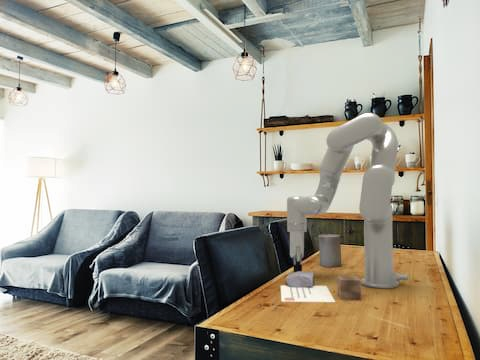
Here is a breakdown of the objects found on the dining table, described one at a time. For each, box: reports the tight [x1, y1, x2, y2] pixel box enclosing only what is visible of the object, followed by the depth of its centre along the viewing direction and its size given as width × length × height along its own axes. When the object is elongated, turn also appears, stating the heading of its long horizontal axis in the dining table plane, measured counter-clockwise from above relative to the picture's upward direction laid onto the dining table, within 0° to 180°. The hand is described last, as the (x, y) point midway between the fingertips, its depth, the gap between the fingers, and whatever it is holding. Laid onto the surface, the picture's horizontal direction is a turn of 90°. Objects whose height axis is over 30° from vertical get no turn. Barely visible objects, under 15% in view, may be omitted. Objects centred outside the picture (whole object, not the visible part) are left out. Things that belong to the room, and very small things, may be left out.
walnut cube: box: [336, 275, 362, 301], centre depth 117 cm, size 6×6×6 cm
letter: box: [280, 284, 336, 303], centre depth 122 cm, size 16×20×1 cm
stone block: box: [285, 270, 315, 287], centre depth 135 cm, size 12×5×10 cm
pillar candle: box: [318, 232, 342, 268], centre depth 169 cm, size 10×10×15 cm
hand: (297, 274), depth 146 cm, fingers closed
